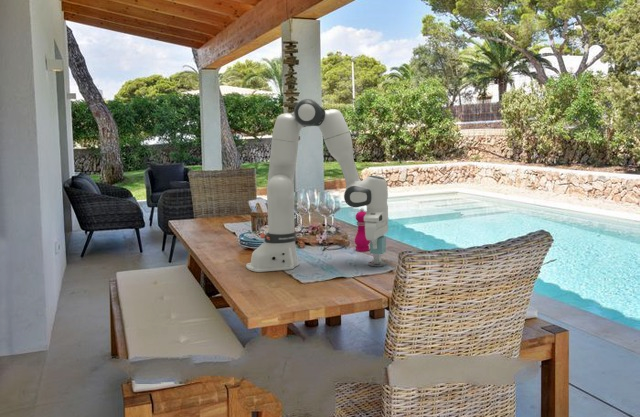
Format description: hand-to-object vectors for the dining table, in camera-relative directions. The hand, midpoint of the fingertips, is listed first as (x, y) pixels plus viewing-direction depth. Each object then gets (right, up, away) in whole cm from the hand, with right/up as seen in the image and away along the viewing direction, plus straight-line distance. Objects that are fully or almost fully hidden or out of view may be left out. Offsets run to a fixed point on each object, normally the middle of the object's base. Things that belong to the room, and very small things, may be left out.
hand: (377, 247), depth 248 cm
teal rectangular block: (0, -2, 0) cm, 2 cm away
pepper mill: (-4, -4, +30) cm, 30 cm away
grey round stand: (0, -7, +1) cm, 8 cm away
